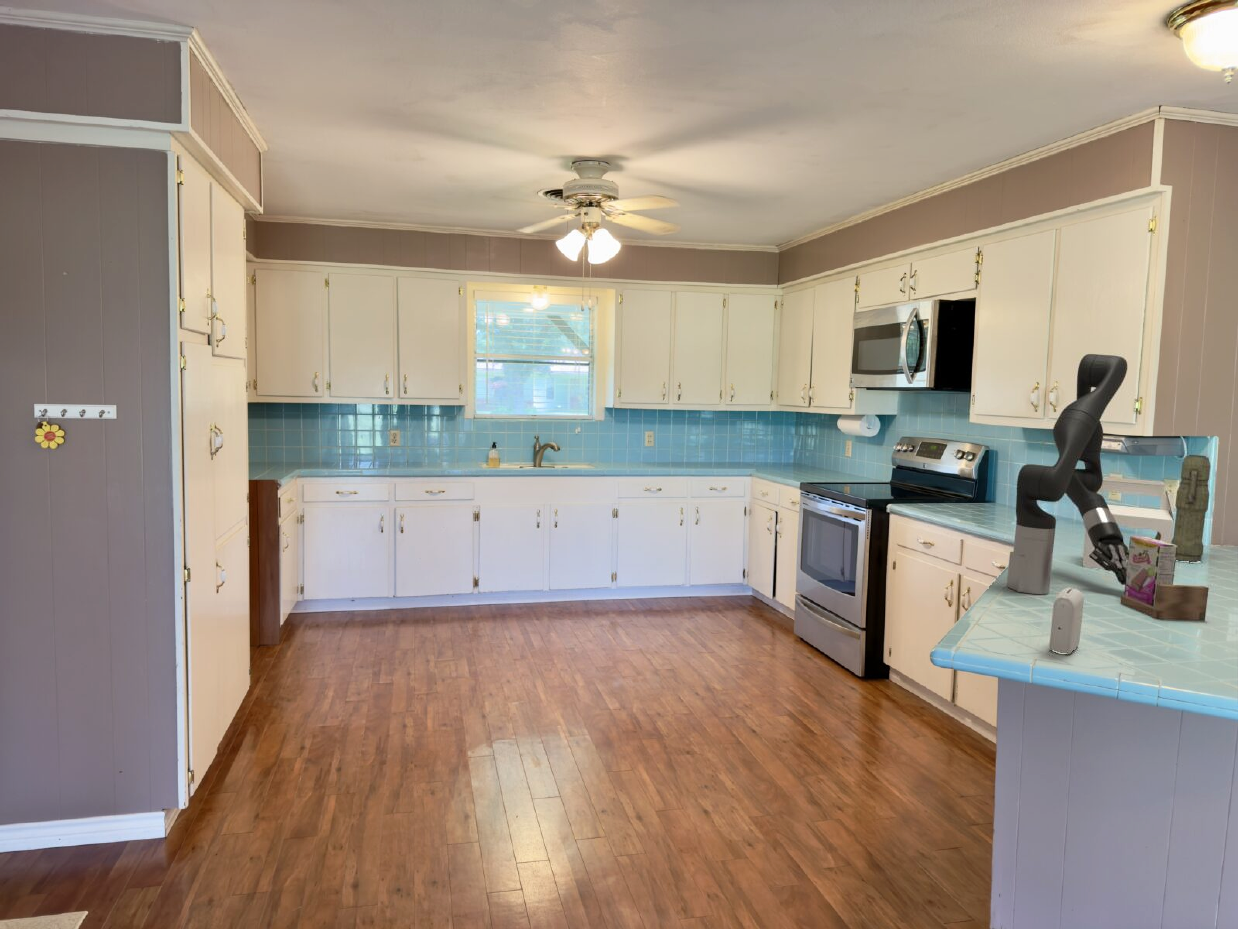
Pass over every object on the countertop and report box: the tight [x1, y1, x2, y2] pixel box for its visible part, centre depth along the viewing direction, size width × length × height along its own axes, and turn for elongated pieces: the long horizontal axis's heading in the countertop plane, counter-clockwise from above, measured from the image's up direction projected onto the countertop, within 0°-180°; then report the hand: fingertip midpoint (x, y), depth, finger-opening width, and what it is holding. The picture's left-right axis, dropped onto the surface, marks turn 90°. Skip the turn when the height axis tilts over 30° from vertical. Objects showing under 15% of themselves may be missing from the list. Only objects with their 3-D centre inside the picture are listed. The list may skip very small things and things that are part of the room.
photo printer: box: [1048, 587, 1085, 655], centre depth 164 cm, size 10×4×12 cm, turn 140°
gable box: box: [1082, 476, 1175, 572], centre depth 249 cm, size 22×13×28 cm, turn 60°
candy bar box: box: [1123, 535, 1177, 607], centre depth 205 cm, size 11×5×16 cm, turn 2°
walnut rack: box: [1120, 584, 1210, 622], centre depth 198 cm, size 12×14×8 cm
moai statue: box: [1171, 454, 1211, 562], centre depth 268 cm, size 9×12×35 cm
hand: (1126, 583), depth 212 cm, fingers closed
